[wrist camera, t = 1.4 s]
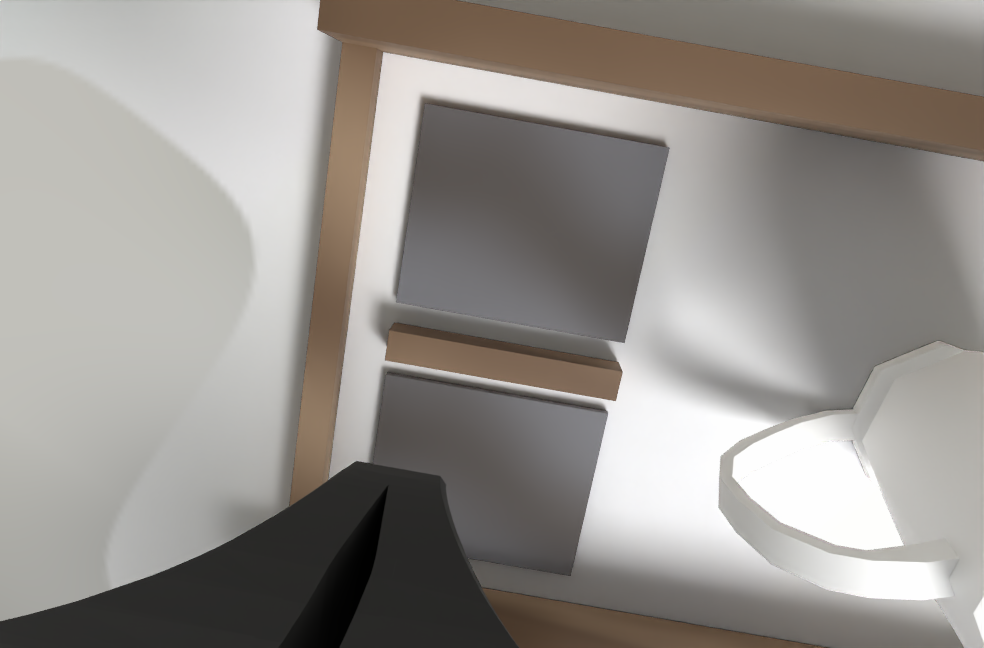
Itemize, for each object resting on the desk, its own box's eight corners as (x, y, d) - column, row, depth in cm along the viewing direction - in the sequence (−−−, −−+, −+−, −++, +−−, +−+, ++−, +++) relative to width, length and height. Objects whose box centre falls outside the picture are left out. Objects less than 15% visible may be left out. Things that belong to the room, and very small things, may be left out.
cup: (1047, 534, 20) (1376, 786, 13) (681, 544, 21) (779, 792, 13) (1086, 285, 19) (1498, 397, 11) (685, 301, 19) (801, 421, 11)
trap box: (1285, 757, 22) (1402, 852, 19) (286, 583, 22) (251, 654, 19) (1583, 225, 18) (1790, 244, 15) (355, 1, 17) (322, -25, 15)
